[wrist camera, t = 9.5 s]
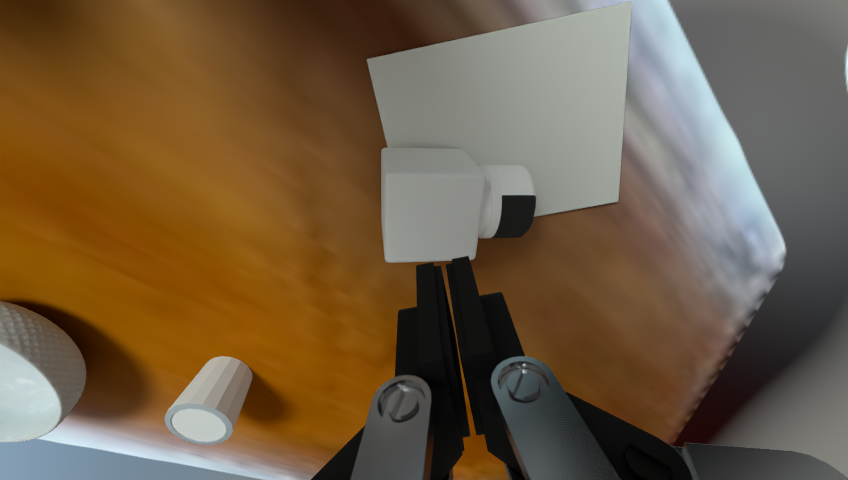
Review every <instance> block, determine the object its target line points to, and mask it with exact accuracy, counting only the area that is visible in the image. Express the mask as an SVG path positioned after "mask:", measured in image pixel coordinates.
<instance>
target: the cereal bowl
mask: <svg viewBox="0 0 848 480" xmlns="http://www.w3.org/2000/svg"><path fill="white" fill-rule="evenodd" d="M85 381H86V366H85V361H84V359H83V356H82V355H81V352H80V350H79V349H78V347H77V345H76V344H75V343H74V342H73V340H72V339H71V338H70V337H69V336H68V335H67V334H66V333H65V332H64V331H63V330H62V329H61V328H59V327H58V326H57V325H55V324H54V323H52V322H51V321H50V320H48V319H47V318H44V317H43V316H41V315H39V314H37V313H35V312H34V311H30V310H28V309H26V308H24V307H20V306H18V305H15V304H11V303H8V302H3V301H0V442H20V441H27V440H32V439H36V438H39V437H41V436H43V435H46V434H47V433H49V432H51V431H52V430H53V429H55V428H56V427H57V426H58V425H59V424H60V423H61V422H62V421H63V419H64V418H65V417H66V416H67V415H68V414H69V413H70V411H71V410H72V409H73V408H74V406H75V405H76V403H77V402H78V400H79V398H80V397H81V396H82V392H83V391H84V386H85Z"/></svg>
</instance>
